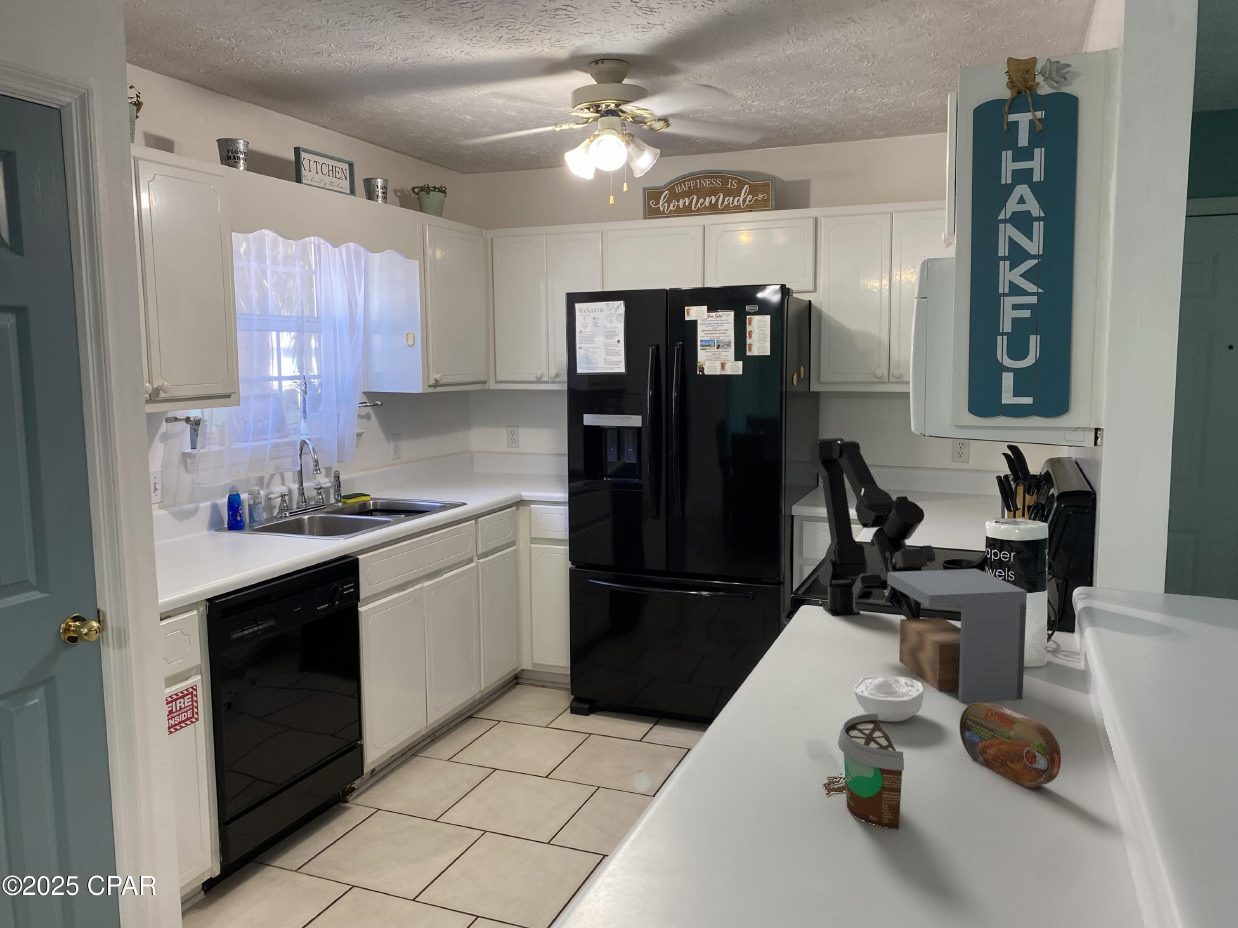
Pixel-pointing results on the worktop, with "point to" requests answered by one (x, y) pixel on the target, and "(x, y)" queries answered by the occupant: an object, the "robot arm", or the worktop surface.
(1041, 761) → the tin
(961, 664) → the slate shelf
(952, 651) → the walnut block
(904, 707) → the white bowl of cream
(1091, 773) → the worktop surface
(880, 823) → the food container
